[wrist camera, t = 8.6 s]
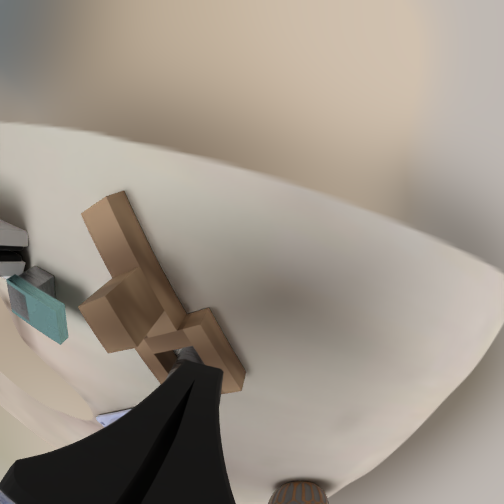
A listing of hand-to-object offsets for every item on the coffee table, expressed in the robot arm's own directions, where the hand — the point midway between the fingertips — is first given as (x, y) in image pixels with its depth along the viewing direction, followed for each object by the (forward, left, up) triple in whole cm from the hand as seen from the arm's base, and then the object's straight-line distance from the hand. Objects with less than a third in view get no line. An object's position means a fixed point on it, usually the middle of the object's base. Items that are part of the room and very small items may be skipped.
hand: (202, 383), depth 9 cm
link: (+2, +5, -7) cm, 9 cm away
